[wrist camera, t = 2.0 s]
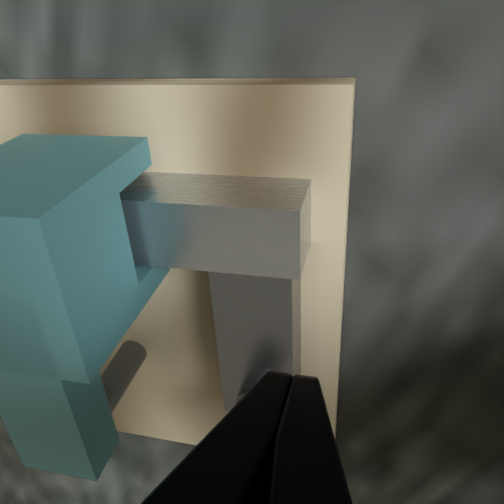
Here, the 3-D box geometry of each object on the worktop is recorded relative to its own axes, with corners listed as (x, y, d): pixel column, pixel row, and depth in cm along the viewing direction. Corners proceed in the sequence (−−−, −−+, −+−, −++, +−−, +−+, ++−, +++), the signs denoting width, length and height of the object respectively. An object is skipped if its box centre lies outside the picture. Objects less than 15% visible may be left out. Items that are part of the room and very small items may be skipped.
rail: (311, 179, 13) (300, 211, 12) (310, 242, 14) (300, 279, 13) (-166, 158, 17) (-225, 180, 15) (-140, 209, 18) (-193, 234, 16)
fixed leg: (300, 241, 14) (276, 319, 11) (300, 385, 17) (281, 477, 14) (223, 235, 15) (180, 308, 12) (236, 376, 18) (205, 463, 15)
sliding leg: (147, 136, 13) (37, 218, 9) (186, 367, 18) (124, 492, 14) (22, 133, 14) (-129, 207, 10) (89, 354, 19) (3, 467, 15)
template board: (355, 77, 12) (353, 85, 12) (334, 453, 20) (332, 471, 19) (-202, 80, 17) (-228, 85, 16) (-44, 387, 24) (-56, 400, 24)
